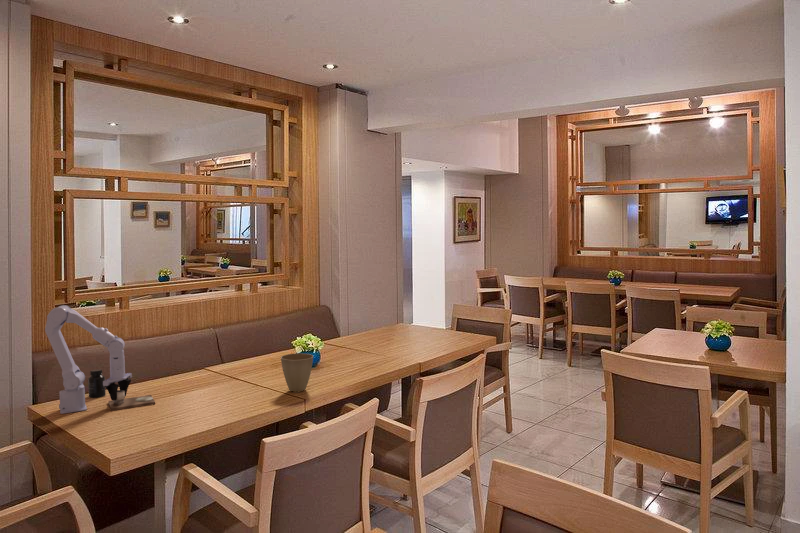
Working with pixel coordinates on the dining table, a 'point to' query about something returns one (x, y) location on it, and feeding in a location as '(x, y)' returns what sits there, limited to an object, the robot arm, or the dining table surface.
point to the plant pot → (297, 370)
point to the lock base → (131, 402)
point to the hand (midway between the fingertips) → (118, 398)
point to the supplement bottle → (96, 384)
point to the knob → (120, 394)
